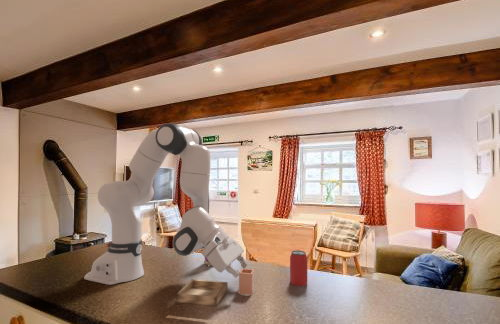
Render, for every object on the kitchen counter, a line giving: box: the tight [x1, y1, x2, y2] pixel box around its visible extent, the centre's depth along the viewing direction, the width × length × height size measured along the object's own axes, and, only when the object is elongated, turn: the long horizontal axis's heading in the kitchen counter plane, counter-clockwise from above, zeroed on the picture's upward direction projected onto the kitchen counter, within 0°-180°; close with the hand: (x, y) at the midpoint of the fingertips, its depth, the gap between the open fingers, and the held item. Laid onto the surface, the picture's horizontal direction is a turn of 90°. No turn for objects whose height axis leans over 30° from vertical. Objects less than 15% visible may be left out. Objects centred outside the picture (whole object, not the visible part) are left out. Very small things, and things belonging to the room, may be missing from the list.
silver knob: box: [237, 288, 257, 297], centre depth 93 cm, size 6×6×6 cm
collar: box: [238, 267, 255, 296], centre depth 93 cm, size 5×5×7 cm
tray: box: [175, 278, 229, 307], centre depth 90 cm, size 14×13×3 cm
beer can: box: [289, 249, 308, 287], centre depth 101 cm, size 7×7×12 cm
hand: (242, 271), depth 93 cm, fingers open, 8 cm apart
